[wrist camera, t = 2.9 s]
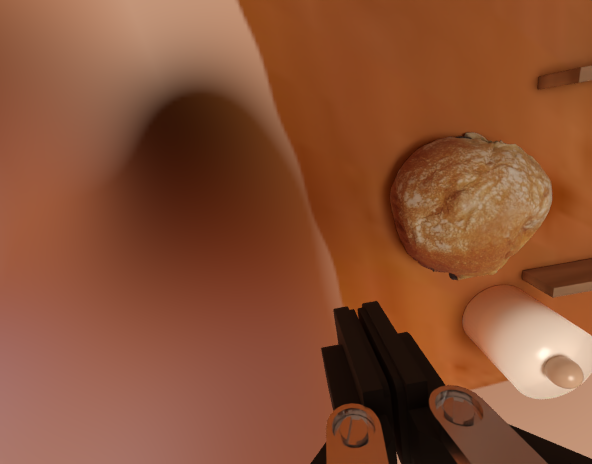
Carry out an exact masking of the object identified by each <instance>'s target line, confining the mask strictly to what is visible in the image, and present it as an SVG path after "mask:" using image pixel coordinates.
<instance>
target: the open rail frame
mask: <svg viewBox="0 0 592 464" xmlns="http://www.w3.org/2000/svg"><path fill="white" fill-rule="evenodd" d="M590 80H592V66H587V67H581V68H577V69H572V70H567V71H563V72H558V73H554V74H549V75H544V76H540V77H539V82H538V89H543V88H549V87H555V86H561V85H567V84H573V83H579V82H584V81H590ZM522 279H523V280H525V281H526V282H528V283H529V284H531V285H533V286H534V287H536V288H538V289H539V290H541V291H543V292H544V293H546V294H548V295H549V296H551V297H559V296H564V295H570V294H576V293H582V292H587V291H592V259H586V260H580V261H575V262H569V263H563V264H558V265H552V266H546V267H541V268H535V269H529V270H524V271H523V275H522Z"/></svg>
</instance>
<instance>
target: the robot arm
mask: <svg viewBox="0 0 592 464" xmlns="http://www.w3.org/2000/svg"><path fill="white" fill-rule="evenodd" d="M358 317H359V319H358ZM358 317H357V315H356V312H355V310H354V309H352V310H349V308H348V307H341V308H337V309H334V318H335V324H336V330H337V337H338V344H339V345H334V346H329V347H323V348H321V350H322V356H323V362H324V367H325V372H326V378H327V383H328V388H329V393H330V397H331V402H332V407H333V412H332V413H331V414H330V416H329V418H328V420H327V426H326V443H325V444H324V446H323V447H322V448H321V450H320V451H319V453H318V454H317V455H316V457H315V458H314V460H313V461H312V462H311V464H397V456H396V452H397V454H398V457H399V460H400V462H401V464H592V459H590V458H588V457H586V456H583V455H581V454H579V453H576V452H574V451H572V450H569V449H566V448H564V447H562V446H560V445H557V444H555V443H552V442H550V441H547V440H545V439H543V438H541V437H538V436H536V435H533V434H531V433H529V432H526V431H524V430H521V429H519V428H517V427H514V426H512V425H509V424H507V423H506V422H505V421H504V420H503V419H502V418H501V417H500V416H499V415H498V414H497V413H496V412H495V411H494V410H493V409H492V408H491V407H490V406H489V405H488V404H487V403H486V402H485V401H484V400H483V399H482V398H480V397H479V396H478V395H477V394H476V393H474V392H472V391H470V390H468V389H466V388H463V387H459V386H453V385H447V386H446V385H445V384H444V383H443V381H442V380H441V378H440V377H439V375H438V374H437V372H436V371H435V370H434V368H433V367H432V365H431V364H430V362H429V361H428V359H427V358H426V357H425V355H424V354H423V352H422V351H421V349H420V348H419V346H418V345H417V344H416V342H415V341H414V339H413V338H412V336H411V335H410V334H409V333H408V332H404V333H399V334H398V333H397V332H396V330H395V329H394V327H393V325H392V324H391V322H390V321H389V319H388V317H387V316H386V314H385V313H384V311H383V310H382V308H381V306H380V305H379V303H378V302H377V301H374V302H369V303H363V304H362V308H358Z"/></svg>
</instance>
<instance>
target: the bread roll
mask: <svg viewBox="0 0 592 464" xmlns="http://www.w3.org/2000/svg"><path fill="white" fill-rule="evenodd" d="M551 203H552V185H551V181H550V179H549V177H548V176H547V175H546V173H545V172H544V170H543V169H542V168H541V166H540V165H539V164H538V163H537V162H536V160H535V159H534V158H533V157H532V156H530V155H527V154H526V153H525V151H524V150H523V149H522V148H520V147H519V146H517V145H516V144H506V143H503V142H502V141H501V140H500V141H499V142H498V141H495V142H492V141H488V140H487V139H486V138H485V137H483V136H482V135H480V134H478V133H465V136H464V137H462V136H459V137H447V138H443V139H437V140H435V141H433V142H431V143H428V144H426V145H424V146H422V147H420V148H419V149H417V150H416V151H415V152H414V153H413V154H412V155H411V156H410V157H409V158H408V159H407V160H406V162H405V163H404V164H403V165H402V167H401V168H400V170H399V171H398V173H397V176H396V178H395V180H394V183H393V186H392V188H391V192H390V204H391V207H392V213H393V215H394V222H395V225H396V229H397V232H398V234H399V237H400V240H401V242H402V243H403V245H404V247H405V250H406V252H407V253H408V254H409V255H410V256H412V258H413V259H414V260H416V261H418V263H419V264H420V265H422V266H423V267H426V268H428V269H431V270H433V272H434V271H438V272H444V273H445V272H447V273H449V276H450V278H451V279H452V280H460V279H465V278H470V277H477V276H484V275H487V274H488V275H493V274H495V273H497V270H498V269H500V268H501V267H502V266H503V265H504V264H505V263H506V262H507V260H508V259H509V258H510V256H512V255H515V254H516V253H517V252H518V250H519V249H521V248H522V247H523V246H524V244H525V243H526V242H528V241H529V239H530V238H531V237H532V236H533V234H534V233H535V232H536V230H537V229H538V228H539V227H540V226H541V224H542V222H543V221H544V219H545V217H546V216H547V214H548V212H549V209H550V206H551Z"/></svg>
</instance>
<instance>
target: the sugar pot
mask: <svg viewBox="0 0 592 464" xmlns="http://www.w3.org/2000/svg"><path fill="white" fill-rule="evenodd" d="M462 324H463V329H464V331H465V333H466V334H467V336H468V337H469V338H470V339H471V340H472V341H473V342H474V343H475V344H476V345H477V346H478V347H479V348H480V350H481V351H482V352H483V353H484V354H485V355H486V356H487V357H488V358H489V359H490V360H491V361H492V363H493V364H494V365H495V366H496V367H497V368H498V369H499V370H500V371H501V372H502V373H503V374H504V375H505V377H506V378H507V379H508V380H509V381H510V382H511V383H512V384H513V385H514V386H515V387H516V388H517V389H518V391H519V392H521V393H522V394H523V395H525V396H528V397H530V398H535V399H550V398H555V397H558V396H561V395H564V394H566V393H568V392H570V391H572V390H574V389H575V388H576V387H578V386H580V385H581V384H582V383H583V382H584V381H585V380H586V379H587V378H588V377H589V376H590V374H591V373H592V336H591V335H590V334H588V333H587V332H585V331H584V330H582V329H580V328H579V327H577V326H576V325H574V324H573V323H571V322H570V321H568V320H567V319H565V318H564V317H562V316H560V315H559V314H557V313H556V312H554V311H553V310H551V309H550V308H548V307H547V306H545V305H544V304H542V303H540V302H539V301H537V300H536V299H534V298H533V297H531V296H530V295H528V294H527V293H525V292H524V291H522V290H520V289H519V288H517V287H515V286H511V285H497V286H493V287H490V288H488V289H485V290H484V291H482V292H480V293H479V294H477V295H476V296H475V297H474V298H473V299H472V300H471V301H470V302H469V304H468V305H467V307H466V309H465V311H464V314H463V319H462Z"/></svg>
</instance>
